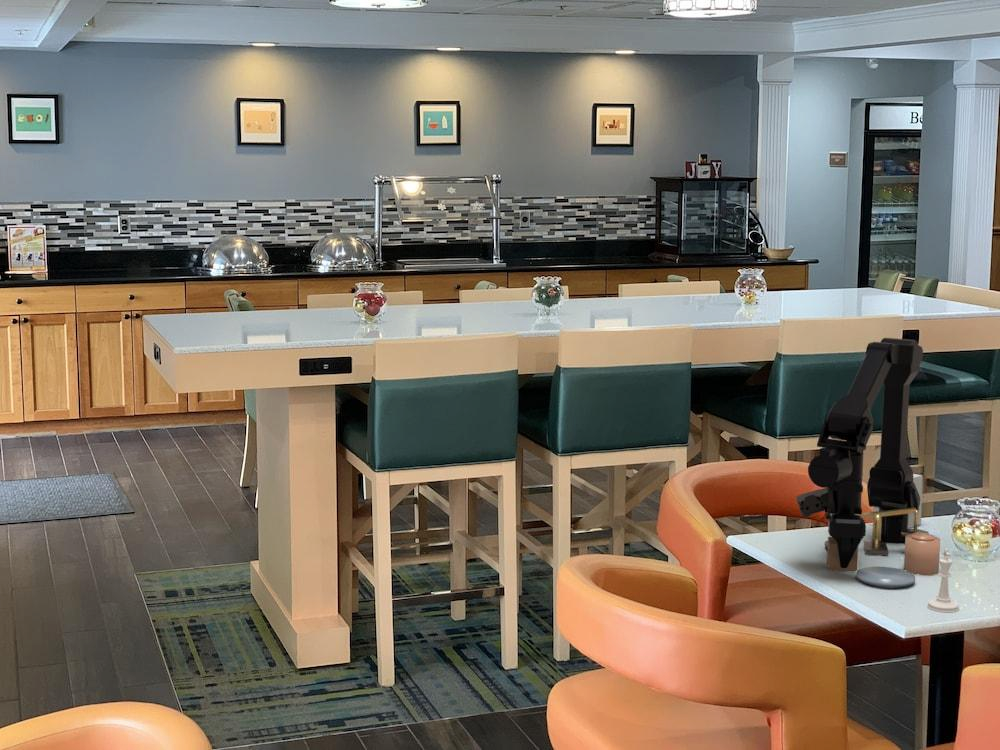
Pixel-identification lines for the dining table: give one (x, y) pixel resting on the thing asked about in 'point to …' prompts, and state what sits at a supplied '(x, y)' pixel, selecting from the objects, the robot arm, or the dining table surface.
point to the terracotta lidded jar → (922, 554)
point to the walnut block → (833, 557)
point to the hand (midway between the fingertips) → (842, 561)
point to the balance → (876, 545)
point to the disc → (885, 577)
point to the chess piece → (944, 588)
